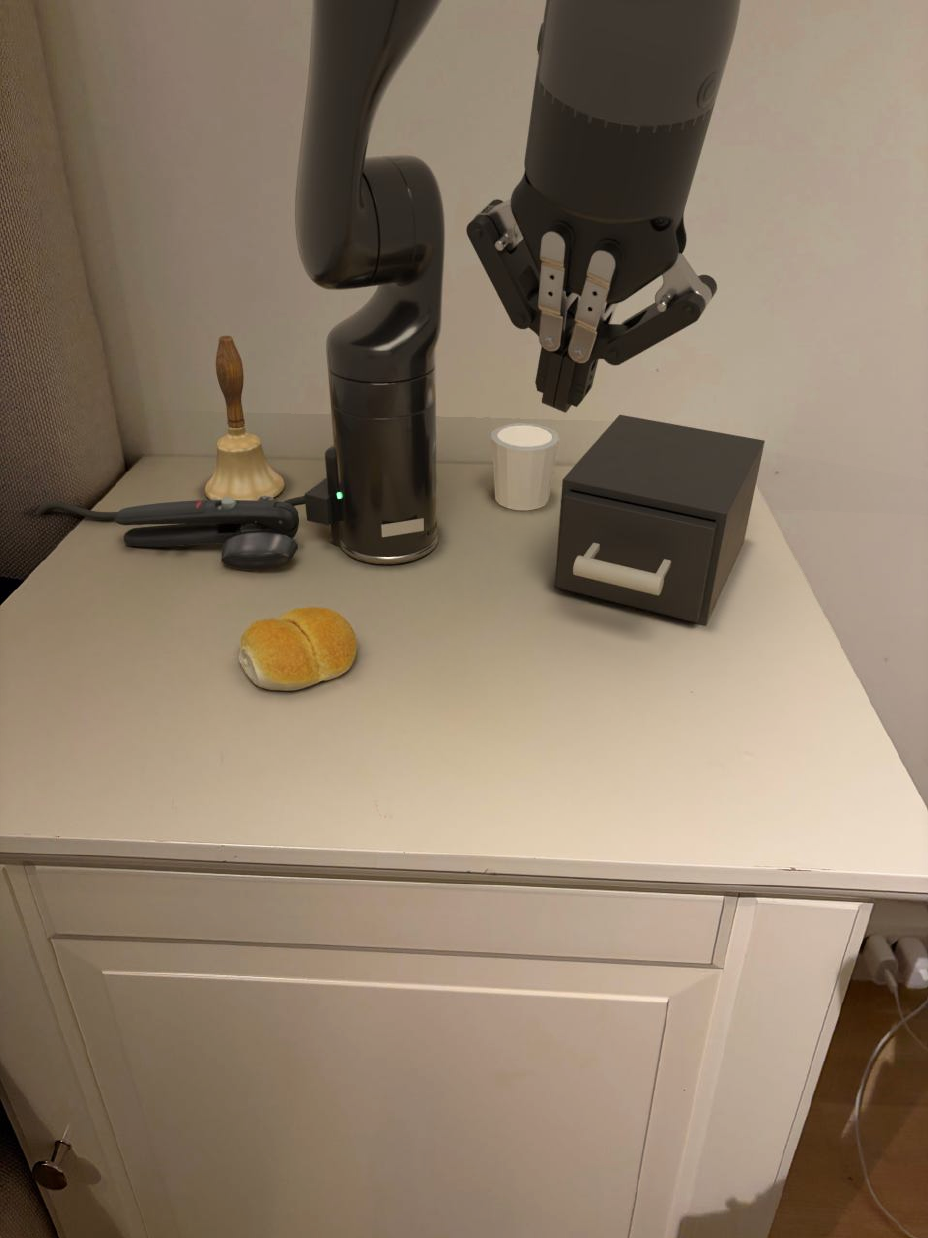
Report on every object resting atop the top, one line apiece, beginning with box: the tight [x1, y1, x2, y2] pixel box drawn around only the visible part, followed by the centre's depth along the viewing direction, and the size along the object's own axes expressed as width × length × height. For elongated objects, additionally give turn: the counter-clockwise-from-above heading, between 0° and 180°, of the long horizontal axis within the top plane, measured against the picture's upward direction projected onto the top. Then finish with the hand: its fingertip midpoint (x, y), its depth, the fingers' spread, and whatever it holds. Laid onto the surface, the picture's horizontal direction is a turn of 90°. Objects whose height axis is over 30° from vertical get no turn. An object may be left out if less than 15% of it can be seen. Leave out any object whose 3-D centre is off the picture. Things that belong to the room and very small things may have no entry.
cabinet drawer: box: [557, 491, 718, 622], centre depth 80 cm, size 19×12×9 cm, turn 155°
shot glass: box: [490, 422, 560, 512], centre depth 95 cm, size 7×7×7 cm
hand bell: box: [204, 335, 286, 501], centre depth 93 cm, size 8×8×16 cm
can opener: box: [114, 495, 300, 571], centre depth 86 cm, size 18×7×6 cm, turn 80°
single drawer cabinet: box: [553, 414, 766, 626], centre depth 83 cm, size 16×14×11 cm
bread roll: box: [238, 606, 358, 692], centre depth 72 cm, size 8×9×4 cm
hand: (559, 399), depth 52 cm, fingers closed
